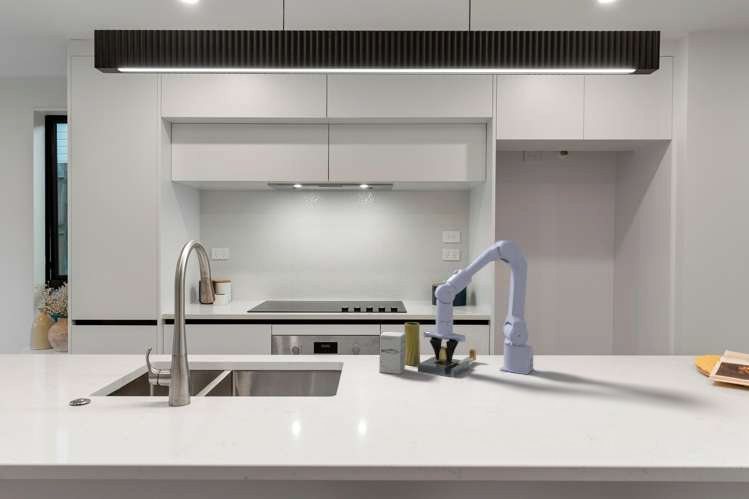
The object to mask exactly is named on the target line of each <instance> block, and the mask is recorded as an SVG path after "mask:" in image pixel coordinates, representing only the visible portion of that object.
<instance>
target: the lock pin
mask: <svg viewBox="0 0 749 499" xmlns="http://www.w3.org/2000/svg"><path fill="white" fill-rule="evenodd" d="M460 360H461V361H459V362H458V363H457V366H458V365H460V364H461V363H463V362H465V361H469V364H470V363H472V362H474V361H476V360H477V349H473V348H471V349H469V356H467V357H465V358H464V359H460Z"/></svg>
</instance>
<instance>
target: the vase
mask: <svg viewBox="0 0 749 499" xmlns="http://www.w3.org/2000/svg"><path fill="white" fill-rule="evenodd" d="M404 333H406V337H405V366H412V367H414V366H418V364H419V363H421V350H420V349H421V347H420V346H421V344H420V341H421V340H420V322H413V321H411V322H410V321H409V322H405V323H404Z"/></svg>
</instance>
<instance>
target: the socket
mask: <svg viewBox="0 0 749 499" xmlns="http://www.w3.org/2000/svg"><path fill="white" fill-rule="evenodd" d="M461 360H462V359H458V358H457V359H456V358H452V361H451V362H449V365H442V364H439V360H436V356H435V355H434V356H432V357H430V358H427V359H426V360H425V359H424V360H423V361H422V362H421V361H420V363H419V364H418V365H417V372H418V373H425V374H430V375H431V374H433V375H438V376H444V377H449V378H456V377H457V376H459V375H460V374H462V373H464V372H466V371H468V370H469V369H470V363H469V361H465V362H463V363H461V364H460V365H458V366H457V363H458V362H459V361H461Z"/></svg>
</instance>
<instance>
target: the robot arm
mask: <svg viewBox="0 0 749 499" xmlns="http://www.w3.org/2000/svg"><path fill="white" fill-rule="evenodd" d="M501 260H502V261H503V262H504V263H505V264H506V265H507V266H509V268H510V283H509V285H510V286H509V295H508V296H509V299H508V313H507V315H506V317H505V323H504V325H503V327H502V328H501V329H502V332H501V333H502V336H503V337H504V341H503V366H502V367H500V368H499V371H504V372H511V373H517V374H524V375H529V373H531V372H532V371H533V370H534V346H532V345H528V344H527V342H528V340H529V332H528V329H527V322H526V321H527V320H526V319H525V307H526V306H525V304H526V293H527V292H526V291H527V276H528V262H527V260H526V258H525V256H524V253H523V252H522V249H521V247H520V246H519V245H518V244H517V243H516V242H515V241H513V240H504V239H501V240H497V241H496V242H495V243H494V244H491V245H490V246H489V247H487V248H486V249H485V250H483V252H482V253H481V254H480V255H479V256H478V257H477V258H475V259H474V260H473V261H472V263H471V264H469V265H468V266H467V267H466V268H465V269H464V268H463V269H462V268H460V269H458V270H457V269H456V270H453V275H451V276H450V277H449V278H448V279H447V280H445V279H444V280H443V282H442V284H440V285H438V286H437V287H436V289H435V291H434V297H435V298H436V302H435V304H436V306H435V331H434V330H433V331H432V330H424V331H423V338H430V339H429V343H430V345H431V347H432V349H433V352H434V356H436V360H439V347H440V346H442V343H443V340H446V342H445V344H446V345H445V346H447V362H451V361H452V359H453V356H454V355H455V354H454V353H455V351H456V348H457V346H458V344H459V342H461V343H465V342H466V335H464V334H459V333H454V306H453V305H454V303H453V302H454V300H455V298H456V295H457V294H459V293H460V292H462V290H464V289H465V288H466V287H467V286H468V285H469V284H471V283H472V277H473V276H474V275H476V274H477V273H478V272H480V271H481V270H482V269H483V268H484V267H486V266H487V265H489V263H491V262H496V261H501Z"/></svg>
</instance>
